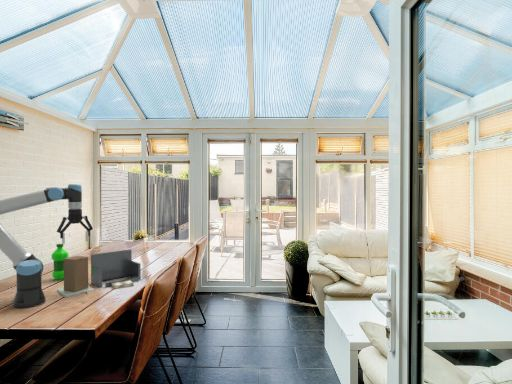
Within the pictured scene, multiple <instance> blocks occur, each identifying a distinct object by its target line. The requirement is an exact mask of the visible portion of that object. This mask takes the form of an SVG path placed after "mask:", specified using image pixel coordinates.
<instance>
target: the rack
mask: <svg viewBox="0 0 512 384" xmlns="http://www.w3.org/2000/svg"><path fill="white" fill-rule="evenodd" d="M132 259H133V257H132V249H130V248H129V249H122V250H115V251H108V252H102V253H101V252H100V253H94V254H93V253H92V254H90V280H91V281H90V283H91V284H90V285H92V284H93V285H95V286H96V287H98V288H102V287H103V282H106V283H104V284H105V286H104V287H105V288H110V287H111V283H117V282H123V281H129V280H131V281H132V282H133V283H135V282H139V281H140V280H141V276H142V275H141V271H142V270H141V269H142V268H141V262H138V261H134V260H132ZM129 277H131V278H129ZM124 278H125V279H124ZM119 279H120V280H119ZM114 280H115V281H114ZM110 281H111V282H110ZM111 288H112V287H111Z"/></svg>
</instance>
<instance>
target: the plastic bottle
mask: <svg viewBox="0 0 512 384" xmlns="http://www.w3.org/2000/svg"><path fill="white" fill-rule="evenodd" d="M63 247H64V244H62V243H57V244H56V249H55V250H54V251H53V252H52V253H51V260H53V271H52V274H51V276H52V277H53V278H54V279H55V280H56V281H59V280H61V279H62V280H64V258H69V253H68V251H67V250H65V249H64V248H63Z"/></svg>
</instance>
